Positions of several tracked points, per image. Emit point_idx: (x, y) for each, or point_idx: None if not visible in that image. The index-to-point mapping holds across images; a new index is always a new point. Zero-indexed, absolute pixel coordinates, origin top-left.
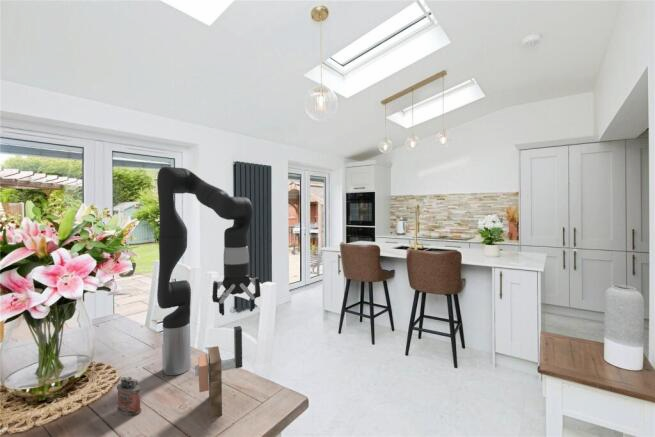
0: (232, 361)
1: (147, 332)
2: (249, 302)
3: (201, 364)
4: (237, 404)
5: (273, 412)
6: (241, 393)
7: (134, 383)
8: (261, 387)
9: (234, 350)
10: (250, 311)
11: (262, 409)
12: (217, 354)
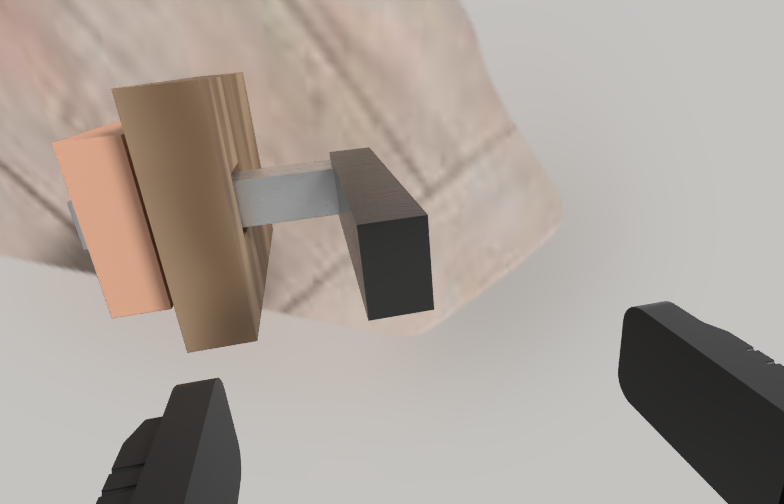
0: (321, 211)
1: None
2: (723, 400)
3: (121, 294)
4: None
5: (457, 260)
6: (349, 97)
7: None
8: (441, 76)
9: (338, 184)
10: (621, 381)
11: None
12: (216, 237)
